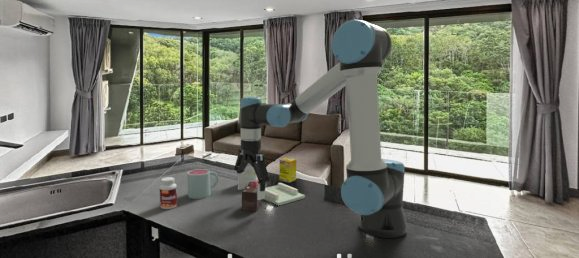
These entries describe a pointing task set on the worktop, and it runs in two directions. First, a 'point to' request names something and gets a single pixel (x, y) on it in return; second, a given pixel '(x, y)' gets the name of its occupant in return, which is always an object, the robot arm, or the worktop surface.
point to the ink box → (250, 176)
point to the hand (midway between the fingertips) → (250, 193)
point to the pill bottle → (168, 193)
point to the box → (250, 199)
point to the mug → (200, 183)
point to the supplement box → (287, 170)
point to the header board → (282, 194)
